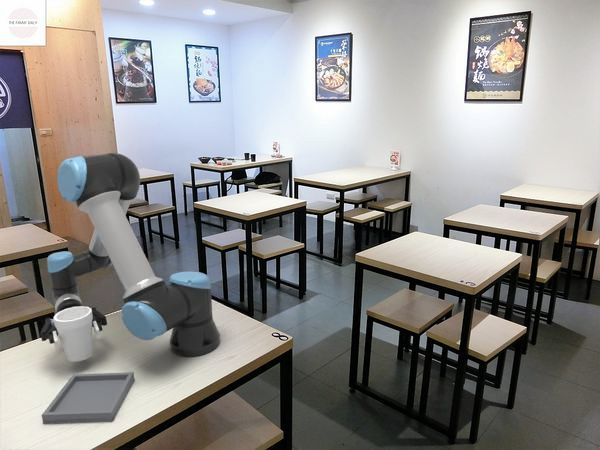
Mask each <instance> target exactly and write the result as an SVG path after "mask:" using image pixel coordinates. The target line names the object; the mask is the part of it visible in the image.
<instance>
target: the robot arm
mask: <svg viewBox="0 0 600 450" xmlns="http://www.w3.org/2000/svg"><path fill="white" fill-rule="evenodd" d="M56 178H57V187H58V190H59V193H60V195H61V197H62V198H63V200H65V201H66V202H69V203H75V204H76V206H77V208H78V210H79V211H81V212H83V213H86V214H87V215H88V217H89V219H90V221H91V223H92V225H93V228H94V229H93V234H92V236H91V239H90V241H89V242H90V243H89V246H88V248H87V250H86V251H82V252H79V253H76V254H73V253H72V252H70V251H64V250H63V251H58V252H53V253H51V254H50V255H48V257H47V258H46V264H47V271H48V277H49V280H50V285H51V286H50V287H51V292H52V301H53V303H54V308H55V315H56V314H57V313H58V312H60V311H62V310H65V309H68V308H72V307H79V306H83V302H82V300H81V297H80V291H79V285H78V278H79V277H80V278H81V277H83V276H85V275H89V274H92V273H94V272H97V271H100V270H103V269H107V268H108V267H111V266H113V268H114V270H115V272H116V274H117V277H118V278H119V281H120V282H121V285H122V287H123V288H124V295H123V296H122V300H123V303H124V305H123V306H122V308H121V312H120V313H121V319H122V322H123V324H124V325H125V327H126V329H127V330H128V331H129V332H130V334H131V335H133V336H134V337H135V338H138V339H140V340H143V341H150V340H153V339H155V338H157V337H161V336H163V335H165V333H166V332H168V331H170V330H171V335H170V339H169V346H170V351H171V352H172V353H173V354H175V355H177V356H180V357H188V358H191V357H198V356H199V357H200V356H202V355H206V354H208V353H211V352H213V351H214V350H216V349H217V348H218V347H219V345H220V342H221V338H220V336H221V335H220V332H219V330H218V327H217V325H216V323H215V320H214V318H213V301H212V286H211V282H210V281H211V280H210V277H209V275H207V274H205V273H203V272H199V271H180V272H176V273H172V274H171V275H170V276H169V280H168V282H169V284H166V282H165V280H164V278H161V277H158V276H156V274H155V273H154V271H153V268H152V267H151V265H150V262H149V260H148V259H147V257H146V254H145V253H144V251H143V248H142V246H141V245H140V243H139V241H138V238H137V236H136V235H135V231H133V228H132V226H131V224H130V222H129V220H128V218H127V216H126V215H127V212H128V210H129V207H130V204H131V202H132V201H133V200H135V199H136V198H137V196H138V194H139V191H140V186H141V175H140V171H139V168H138V167H137V165H136V164H135V162H134V161H133V160H132V159H131V158H129V157H128V156H126V155H124V154H121V153H117V152H111V153H110V152H109V153H103V154H94V155H93V154H92V155H85V156H84V155H83V156H82V155H79V156H76V157H70V158H66V159H65V160H63V161H62V162H61V164H60V165H59V167H58V169H57V177H56ZM91 309H92V315H93V319H92V328H93V330H94V332H95V335H96V339H97V340H100V339H101V333H100V332H102V331H103V326H104V327H105V326H107V325H108V323H107V316H105V315H104V314H103V313H101V312H100V311H98V310H97V307H94V306H93V307H92V308H91ZM58 336H59V334H58V331H57V328H56V327H55V324H54V318H53V319H52V318H51V317H46V318H45V323H44V325H43V327H42V328H41V331H40V337H41V342H45V341H47V340H48V341H49V344H54V347H55V351H59V350H60V346H59V339H58Z"/></svg>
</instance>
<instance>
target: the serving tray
mask: <svg viewBox="0 0 600 450" xmlns="http://www.w3.org/2000/svg"><path fill="white" fill-rule="evenodd" d="M135 381H136V380H135V372H133V371H131V372H130V371H129V372H101V373H75V374H73V373H72V375H71V377H70V378H69V379H68V381H67V382H66V383H65V385H64V386H63V387H62V388H61V389H60V390H59V391H58V393H57V395H56V396H55V397H54V398H53V399H52V401H51V402H50V404H49V405H48V406H47V407H46V409H45V410H44V412H42V414H41V418H42V424H43V425H54V424H55V425H57V424H78V423H79V424H81V423H82V424H83V423H85V424H86V423H104V422H106V423H107V422H111V423H112V422H113V421H114V420H115V418H116V416H117V414H118V412H119V410H120V409H121V406H122V405H123V403H124V401H125V399H126V397H127V395H128V394H129V392H130V390H131V388H132V386H133V384H134V383H135Z"/></svg>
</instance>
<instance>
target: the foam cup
mask: <svg viewBox="0 0 600 450" xmlns="http://www.w3.org/2000/svg"><path fill="white" fill-rule="evenodd" d="M53 319H54V325H55V327H56V328H57V331H58V337H59V339H60V342H61V345H62V347H63V350H64V353H65V356H66V358H67V360H68V361H69V362H73V363H77V362H81V361H84V360H87V359H90V357H91V356H92V355H93V327H92V319H93V315H92V308H91V307H89V306H79V307H72V308H68V309H65V310H62V311H60V312H58V313H57V314H56V313H55V315H54V316H53Z"/></svg>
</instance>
